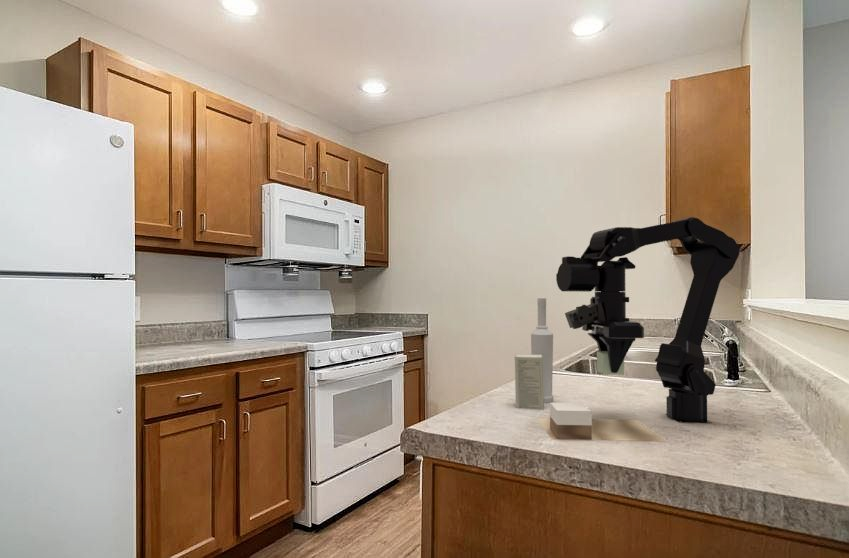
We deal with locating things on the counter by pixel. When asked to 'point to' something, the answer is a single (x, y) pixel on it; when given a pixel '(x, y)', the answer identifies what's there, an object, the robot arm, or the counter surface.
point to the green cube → (606, 364)
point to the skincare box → (529, 381)
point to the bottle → (544, 349)
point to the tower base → (571, 431)
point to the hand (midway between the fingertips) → (610, 370)
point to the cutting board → (614, 430)
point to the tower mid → (570, 414)
